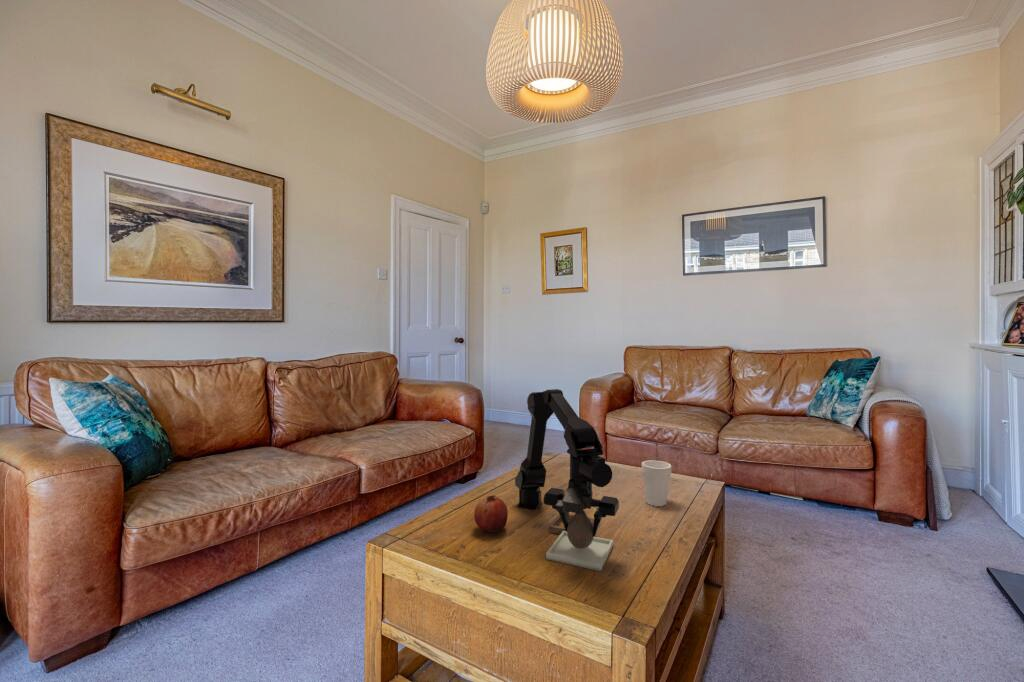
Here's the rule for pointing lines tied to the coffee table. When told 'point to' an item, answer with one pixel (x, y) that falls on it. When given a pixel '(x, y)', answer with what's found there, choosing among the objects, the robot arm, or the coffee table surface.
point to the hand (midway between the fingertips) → (580, 533)
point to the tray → (580, 552)
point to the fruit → (491, 514)
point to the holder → (558, 530)
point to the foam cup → (656, 481)
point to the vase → (580, 531)
